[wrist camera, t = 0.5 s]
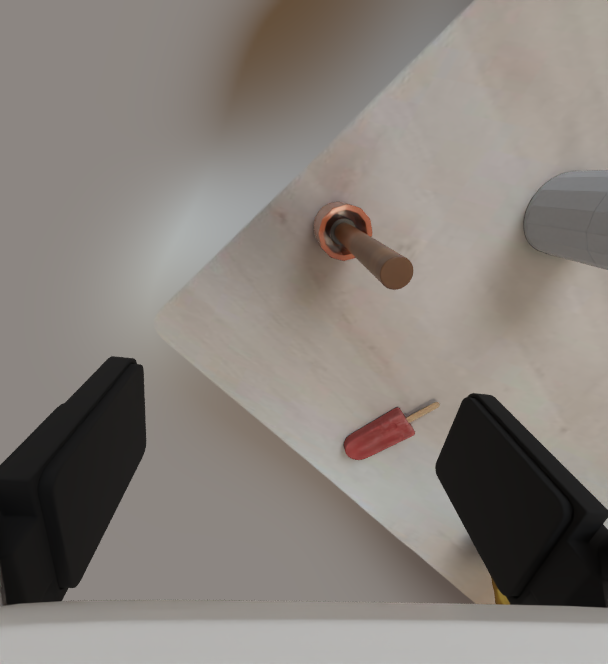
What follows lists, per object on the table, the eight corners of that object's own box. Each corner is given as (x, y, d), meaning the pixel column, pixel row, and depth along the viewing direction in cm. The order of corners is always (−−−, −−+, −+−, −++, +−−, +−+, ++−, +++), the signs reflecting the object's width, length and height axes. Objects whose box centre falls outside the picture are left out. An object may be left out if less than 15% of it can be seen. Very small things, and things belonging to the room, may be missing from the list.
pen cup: (338, 191, 35) (347, 192, 30) (368, 226, 36) (382, 233, 31) (304, 226, 36) (308, 233, 31) (334, 258, 38) (343, 270, 33)
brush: (338, 208, 35) (401, 237, 17) (353, 227, 36) (430, 273, 18) (320, 226, 36) (362, 273, 17) (336, 244, 36) (392, 306, 18)
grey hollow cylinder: (580, 152, 35) (702, 140, 25) (612, 214, 38) (732, 225, 28) (509, 213, 37) (595, 225, 27) (544, 267, 40) (634, 296, 30)
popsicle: (448, 417, 46) (355, 466, 49) (442, 410, 47) (353, 457, 50) (434, 396, 44) (339, 447, 47) (429, 388, 46) (337, 438, 49)
